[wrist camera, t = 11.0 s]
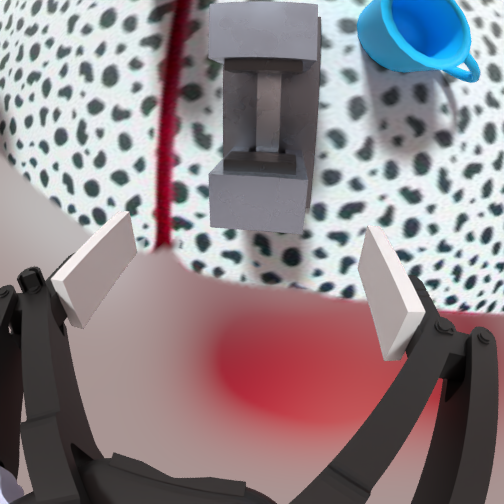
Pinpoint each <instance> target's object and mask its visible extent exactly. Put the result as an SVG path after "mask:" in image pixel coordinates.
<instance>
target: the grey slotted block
mask: <svg viewBox="0 0 504 504" xmlns="http://www.w3.org/2000/svg"><path fill="white" fill-rule="evenodd" d="M320 43H321V17H318V5H317V4H307V3H293V2H229V3H215V4H210V12H209V55H208V58H209V59H212V60H214V61H217V62H219V63H222V64H223V158H224V157H225V156H226V155H227V154H228V153H229V152H230V151H231V150H232V149H233V147H251V150H250V152H265V153H280V154H285V149H289V150H301V151H302V154H303V158H304V163H305V167H306V172H307V177H308V188H307V197H306V207H305V208H310V199H311V189H312V178H313V167H314V156H315V143H316V129H317V114H318V97H319V75H320Z"/></svg>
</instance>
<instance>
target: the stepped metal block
mask: <svg viewBox="0 0 504 504" xmlns="http://www.w3.org/2000/svg"><path fill="white" fill-rule="evenodd" d="M250 150H251V147H233V149H232V150H231V151H230V152H229V153H228V154H227V155H226V156H225V157H224V158H223V159H222V160H221V161H220V162H219V163H218V165H217V166H216V167H215V168H214V169H213V170H212V171H211V172H210V173H209V201H210V226H211V227H215V228H229V229H243V230H256V231H268V232H281V233H293V234H302V233H303V224H304V216H305V207H306V197H307V188H308V177H307V172H306V167H305V163H304V158H303V154H302V151H301V150H289V149H285V154H280V153H265V152H250Z"/></svg>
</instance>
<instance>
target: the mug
mask: <svg viewBox="0 0 504 504" xmlns="http://www.w3.org/2000/svg"><path fill="white" fill-rule="evenodd" d="M357 31H358V37H359V40H360V42H361V44H362V47H363V48H364V50H365V51H366V52H367V53H368V55H369V56H370V57H371V58H372V59H373V60H374V61H376V62H377V63H378V64H379V65H381V66H383V67H385V68H387V69H389V70H392V71H397V72H415V71H429V70H443V71H444V72H446V73H448V74H450V75H452V76H454V77H456V78H458V79H460V80H462V81H466V82H470V83H472V82H477V81H478V80H479V77H480V69H479V67H478V64H477V62H476V61H475V60H474V58H473V57H472V56H471V54H470V53H469V51H470V46H471V34H470V27H469V25H468V22H467V20H466V18H465V15H464V13H463V12H462V10H461V9H460V7H459V6H458V5H457V3H456V2H455V1H454V0H373V1H372V2H371V3H370V4H369V5H368V6H367V7H366V8H365V9H364V10H363V11H362V13H361V14H360V15H359V19H358V23H357ZM463 62H464V63H465V64H466V66H467V67H468V68H469V69H470V72H469V71H465V70H463V69H460V68H458V67H456V66H458V65H460V64H461V63H463Z"/></svg>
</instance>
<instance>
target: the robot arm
mask: <svg viewBox="0 0 504 504" xmlns="http://www.w3.org/2000/svg"><path fill="white" fill-rule="evenodd" d="M136 254H137V249H136V244H135V239H134V234H133V229H132V223H131V218H130V212H120V211H118V212H117V213H116V214H115V215H114V216H113V217H112V218H111V219H110V220H109V221H108V222H106V223H105V224H104V225H103V226H102V227H101V228H100V229H99V230H98V231H97V232H96V233H95V234H94V235H93V236H92V237H91V238H90V239H89V240H88V241H87V242H86V243H85V244H84V245H83V246H82V247H81V248H80V249H79V250H78V251H76V252H75V253H73V254H72V255H70V256H69V257H68V258H67V259H66V260H65V261H64V262H63V263H62V264H61V265H60V266H59V268H57V269H56V270H55V271H54V272H53V273H52V275H51V276H50V277H49V278H48V279H47V280H46V281H45V280H44V278H43V275H42V273H41V270H40V268H38V267H30V268H28V269H26V270H24V271H23V272H21V273H20V275H19V276H18V278H17V281H18V283H19V285H20V287H21V290H22V292H23V293H16V291H15V289H14V287H13V286H12V285H7V286H3V287H1V288H0V504H277V503H276V502H275V501H273V500H272V499H270V498H269V497H268V496H266V495H264V494H262V493H260V492H258V491H256V490H253V489H251V488H248V487H246V482H243V481H234V480H226V479H219V478H212V477H206V478H173V477H170V476H168V475H166V474H164V473H162V472H160V471H159V470H157V469H155V468H153V467H151V466H149V465H148V464H145V463H144V462H142V461H139V460H135V459H132V458H129V457H126V456H123V455H120V454H117V453H113V456H112V458H104V457H103V455H102V454H101V452H100V451H99V449H98V448H97V446H96V444H95V441H94V438H93V435H92V433H91V430H90V427H89V424H88V420H87V417H86V414H85V410H84V407H83V403H82V400H81V396H80V393H79V389H78V385H77V380H76V376H75V372H74V367H73V362H72V358H71V353H70V347H69V341H68V335H67V329H66V326H65V324H64V320H65V319H66V318H67V317H68V319H69V321H70V323H71V325H72V326H74V327H78V328H82V329H84V328H85V326H86V325H87V323H88V322H89V320H90V318H91V317H92V315H93V314H94V312H95V311H96V310H97V308H98V307H99V305H100V303H101V302H102V300H103V299H104V298H105V296H106V295H107V293H108V292H109V291H110V289H111V288H112V286H113V285H114V284H115V282H116V281H117V279H118V278H119V277H120V275H121V274H122V272H123V271H124V270H125V268H126V267H127V266H128V264H129V263H130V262H131V260H132V259H133V258H134V256H135V255H136ZM358 271H359V274H360V277H361V280H362V284H363V287H364V290H365V293H366V297H367V300H368V303H369V307H370V310H371V313H372V317H373V320H374V324H375V328H376V331H377V335H378V339H379V343H380V347H381V351H382V354H383V359H384V361H392V360H401V358H402V356H403V354H404V352H405V351H406V354H407V357H408V359H407V361H406V362H405V364H404V366H403V367H402V369H401V371H400V372H399V374H398V375H397V377H396V378H395V380H394V382H393V383H392V385H391V386H390V388H389V389H388V391H387V392H386V393H385V395H384V396H383V398H382V399H381V401H380V402H379V404H378V405H377V406H376V408H375V409H374V410H373V412H372V413H371V415H370V416H369V417H368V418H367V420H366V421H365V422H364V424H363V425H362V426H361V427H360V429H359V430H358V431H357V432H356V434H355V435H354V436H353V437H352V439H351V440H350V441H349V442H348V443H347V445H346V446H345V447H344V448H343V449H342V450H341V452H340V453H339V454H338V455H337V456H336V457H335V458H334V459H333V461H332V462H331V463H330V464H329V465H328V466H327V467H326V468H325V469H324V470H323V471H322V472H321V473H320V474H319V476H317V477H316V478H315V479H314V480H313V481H312V482H311V483H310V484H309V485H308V486H307V488H305V489H304V490H303V491H302V492H301V493H300V494H299V495H298V496H297V497H296V498H295V499H294V500H292V502H290V503H289V504H365V503H366V501H367V500H368V498H369V496H370V493H371V490H372V488H373V486H374V485H375V484H376V482H377V481H378V480H379V479H380V477H381V476H382V475H383V473H384V472H385V470H386V469H387V468H388V466H389V465H390V463H391V462H392V460H393V459H394V457H395V456H396V454H397V453H398V451H399V450H400V448H401V447H402V445H403V443H404V442H405V440H406V438H407V437H408V435H409V434H410V432H411V430H412V428H413V427H414V425H415V423H416V422H417V420H418V418H419V416H420V414H421V412H422V411H423V409H424V407H425V405H426V403H427V401H428V399H429V397H430V395H431V393H432V391H433V389H434V387H435V385H436V383H437V380H438V378H442V379H443V384H442V391H441V397H440V403H439V408H438V413H437V419H436V423H435V428H434V431H433V436H432V440H431V444H430V448H429V451H428V455H427V458H426V462H425V465H424V468H423V472H422V474H421V478H420V480H419V484H418V486H417V489H416V492H415V494H414V497H413V500H412V502H411V504H484V503H485V500H486V495H487V491H488V486H489V482H490V477H491V472H492V466H493V459H494V452H495V444H496V434H497V420H498V361H497V347H496V340H495V337H494V336H493V334H492V333H491V332H490V331H489V330H488V329H486V328H484V327H475V328H474V329H473V330H472V332H471V333H470V335H469V334H465V333H461V332H457V331H456V329H455V326H454V325H453V324H452V322H450V321H449V320H448V319H446V318H443V317H440V315H439V313H438V311H437V309H436V307H435V305H434V303H433V301H432V299H431V297H429V294H428V292H427V291H426V288H425V286H424V284H423V282H422V281H421V280H420V279H418V278H417V277H416V276H415V275H407V273H406V271H405V269H404V267H403V265H402V263H401V262H400V260H399V258H398V256H397V254H396V252H395V251H394V249H393V247H392V245H391V243H390V242H389V240H388V238H387V237H386V235H385V233H384V231H383V230H382V228H381V227H380V226H370V225H368V226H367V230H366V235H365V239H364V244H363V248H362V252H361V257H360V261H359V265H358ZM8 327H10V329H11V333H9V328H8ZM23 392H24V399H25V407H26V415H27V421H26V422H22V423H21V411H22V401H23V400H22V399H23ZM20 423H21V425H20ZM20 433H21V439H22V445H23V450H24V455H25V460H26V464H27V469H28V472H29V477H30V480H31V484H32V487H33V492H31V493H29V494H27V495H25V496H24V491H23V489H22V487H21V486H20V485H18V484H17V476H18V468H19V445H20Z"/></svg>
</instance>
